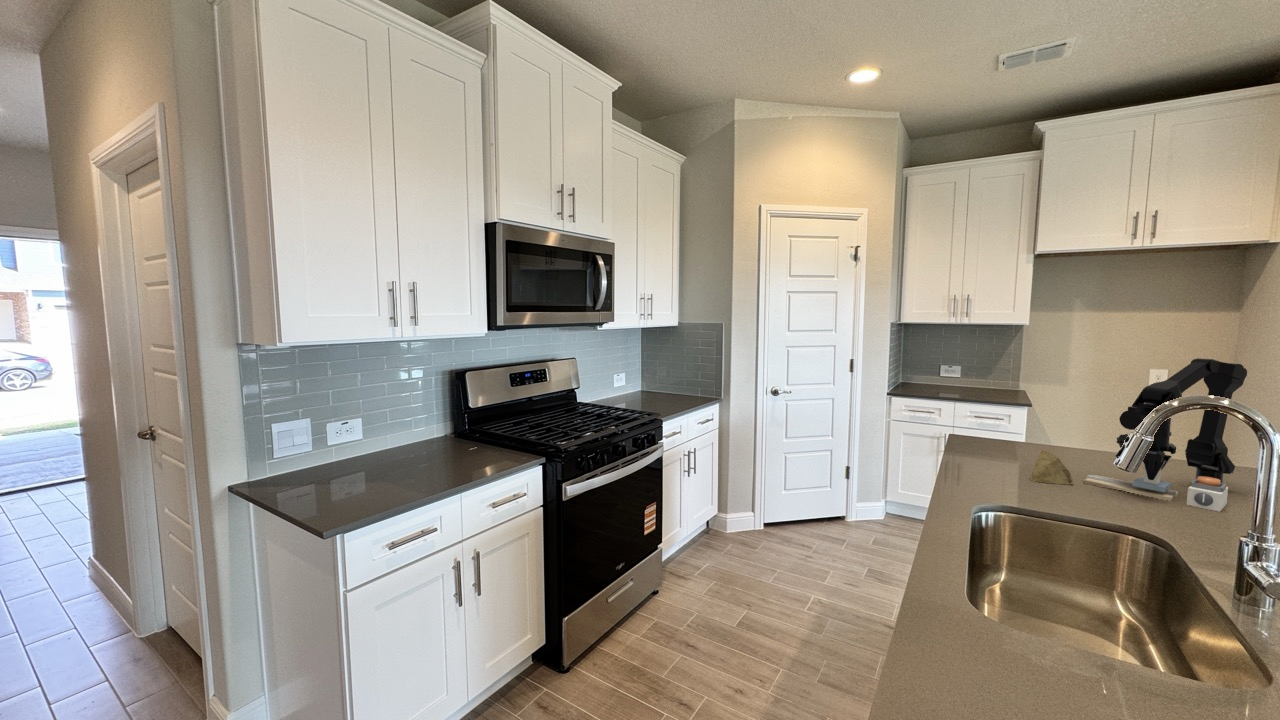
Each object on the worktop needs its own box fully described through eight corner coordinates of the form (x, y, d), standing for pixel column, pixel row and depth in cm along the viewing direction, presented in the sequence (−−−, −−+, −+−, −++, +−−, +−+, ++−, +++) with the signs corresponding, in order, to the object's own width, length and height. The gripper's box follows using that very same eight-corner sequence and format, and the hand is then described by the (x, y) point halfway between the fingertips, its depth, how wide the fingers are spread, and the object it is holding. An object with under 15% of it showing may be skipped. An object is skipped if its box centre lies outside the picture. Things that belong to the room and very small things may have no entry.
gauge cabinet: (1194, 497, 154) (1196, 477, 153) (1226, 504, 148) (1228, 483, 148) (1186, 505, 148) (1188, 484, 147) (1219, 512, 142) (1221, 490, 142)
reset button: (1198, 480, 151) (1199, 475, 150) (1221, 484, 147) (1221, 479, 147) (1195, 482, 148) (1196, 478, 148) (1218, 486, 144) (1218, 482, 144)
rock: (1080, 476, 167) (1044, 464, 175) (1079, 458, 163) (1042, 447, 171) (1065, 500, 164) (1028, 487, 172) (1063, 483, 160) (1026, 470, 168)
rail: (1093, 477, 173) (1093, 472, 172) (1178, 494, 156) (1178, 488, 156) (1083, 483, 167) (1083, 477, 167) (1170, 501, 151) (1170, 495, 150)
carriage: (1139, 481, 163) (1141, 461, 162) (1170, 487, 157) (1172, 466, 156) (1132, 485, 158) (1133, 465, 157) (1164, 492, 152) (1166, 471, 152)
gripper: (1129, 420, 168) (1125, 467, 169) (1111, 427, 157) (1107, 477, 159) (1178, 426, 159) (1174, 475, 160) (1163, 434, 148) (1158, 487, 149)
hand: (1152, 478), depth 157 cm, fingers closed on carriage, 3 cm apart
